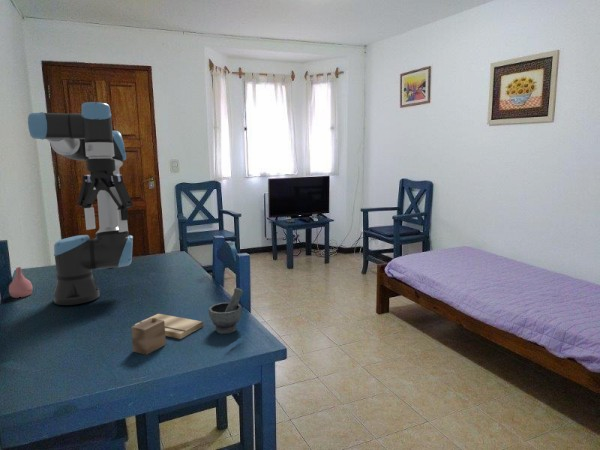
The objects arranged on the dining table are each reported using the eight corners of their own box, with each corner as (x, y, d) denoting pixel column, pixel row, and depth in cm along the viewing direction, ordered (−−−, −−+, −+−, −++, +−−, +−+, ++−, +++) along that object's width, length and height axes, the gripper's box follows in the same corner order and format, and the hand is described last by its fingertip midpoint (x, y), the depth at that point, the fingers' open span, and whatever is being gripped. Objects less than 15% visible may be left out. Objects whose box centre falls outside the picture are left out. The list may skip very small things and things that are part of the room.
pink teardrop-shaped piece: (19, 302, 157) (15, 270, 155) (5, 300, 160) (1, 269, 158) (38, 296, 164) (35, 266, 162) (24, 294, 167) (21, 264, 165)
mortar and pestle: (219, 338, 121) (217, 298, 119) (204, 329, 128) (201, 291, 126) (252, 328, 128) (250, 290, 126) (235, 319, 135) (234, 283, 133)
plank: (134, 329, 129) (134, 323, 129) (158, 318, 138) (158, 313, 137) (180, 338, 121) (180, 333, 121) (202, 326, 130) (202, 320, 130)
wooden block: (133, 351, 114) (131, 324, 112) (152, 341, 120) (150, 315, 119) (147, 355, 112) (144, 327, 110) (165, 344, 118) (164, 317, 117)
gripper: (59, 158, 124) (67, 230, 127) (120, 157, 113) (127, 234, 116) (82, 158, 131) (89, 226, 134) (142, 157, 120) (147, 230, 123)
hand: (106, 230), depth 125 cm, fingers open, 13 cm apart
